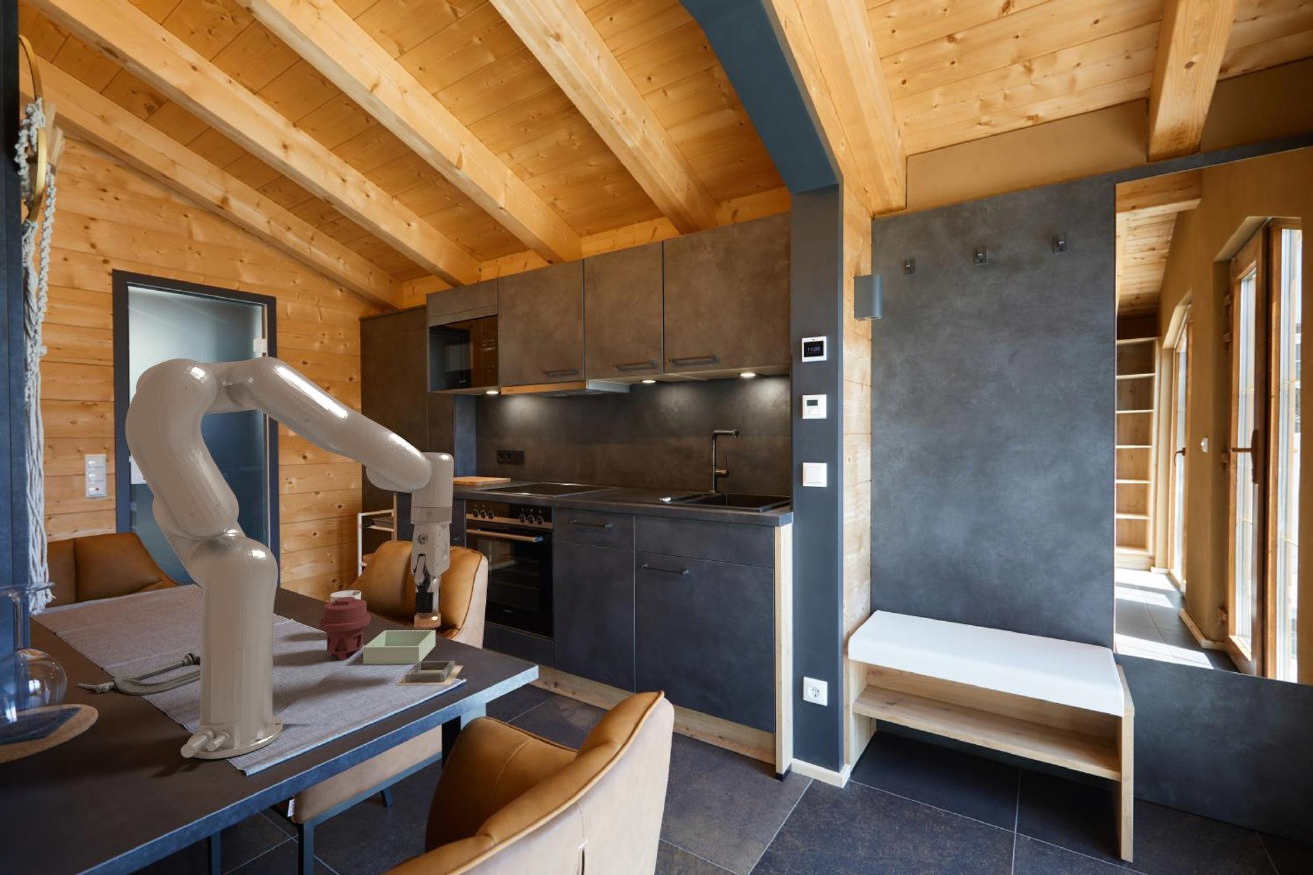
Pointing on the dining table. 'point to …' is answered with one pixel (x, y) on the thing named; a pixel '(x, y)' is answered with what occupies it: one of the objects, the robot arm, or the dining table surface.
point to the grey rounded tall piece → (430, 618)
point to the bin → (399, 647)
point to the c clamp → (141, 688)
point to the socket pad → (430, 673)
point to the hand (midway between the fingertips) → (427, 608)
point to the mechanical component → (344, 626)
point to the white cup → (346, 594)
